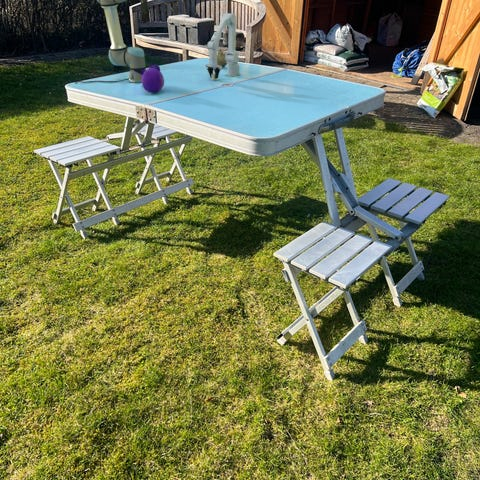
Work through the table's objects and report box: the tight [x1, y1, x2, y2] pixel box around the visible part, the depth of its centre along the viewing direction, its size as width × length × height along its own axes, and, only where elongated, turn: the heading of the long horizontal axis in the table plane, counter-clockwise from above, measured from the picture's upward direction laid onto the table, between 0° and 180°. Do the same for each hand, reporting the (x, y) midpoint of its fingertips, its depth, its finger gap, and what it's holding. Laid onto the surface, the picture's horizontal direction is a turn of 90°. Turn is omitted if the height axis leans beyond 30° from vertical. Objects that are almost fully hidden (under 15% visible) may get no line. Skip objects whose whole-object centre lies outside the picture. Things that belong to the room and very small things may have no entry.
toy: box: [134, 64, 165, 94], centre depth 304 cm, size 16×18×27 cm
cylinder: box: [211, 73, 218, 82], centre depth 337 cm, size 4×4×4 cm
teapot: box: [217, 48, 228, 69], centre depth 380 cm, size 21×12×15 cm, turn 120°
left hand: (146, 22), depth 360 cm, fingers open, 13 cm apart
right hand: (214, 78), depth 337 cm, fingers open, 4 cm apart
